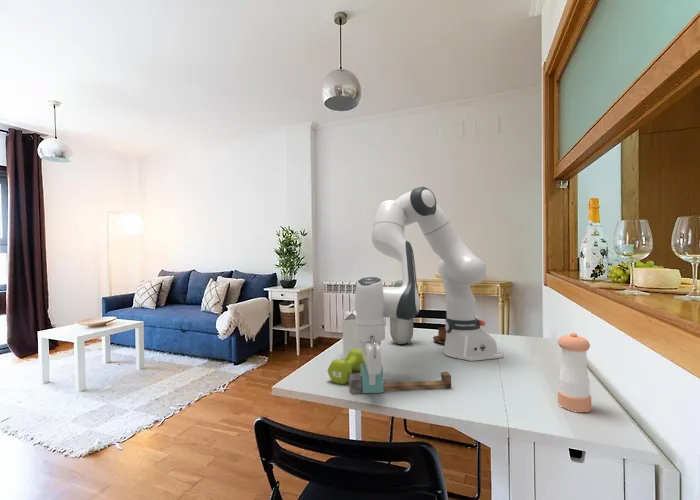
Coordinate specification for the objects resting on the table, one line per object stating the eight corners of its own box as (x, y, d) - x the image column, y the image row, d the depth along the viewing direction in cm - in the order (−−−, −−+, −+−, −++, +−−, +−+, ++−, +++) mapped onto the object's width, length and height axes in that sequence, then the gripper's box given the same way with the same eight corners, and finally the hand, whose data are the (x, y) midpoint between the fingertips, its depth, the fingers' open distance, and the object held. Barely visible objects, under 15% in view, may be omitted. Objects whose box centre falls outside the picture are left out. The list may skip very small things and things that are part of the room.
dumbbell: (349, 367, 124) (348, 346, 124) (369, 370, 120) (369, 349, 120) (325, 383, 109) (325, 360, 109) (348, 387, 105) (347, 363, 105)
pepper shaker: (558, 409, 89) (557, 334, 89) (558, 398, 95) (557, 328, 96) (592, 415, 85) (591, 337, 86) (590, 404, 92) (589, 331, 92)
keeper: (380, 385, 106) (380, 362, 106) (383, 392, 100) (383, 368, 100) (360, 385, 105) (360, 363, 105) (362, 393, 100) (362, 369, 100)
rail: (446, 383, 107) (446, 370, 107) (452, 390, 102) (452, 376, 102) (349, 387, 105) (349, 374, 105) (350, 394, 100) (350, 380, 100)
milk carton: (363, 354, 138) (362, 306, 138) (361, 360, 131) (361, 309, 131) (345, 354, 138) (344, 306, 139) (343, 360, 131) (342, 309, 131)
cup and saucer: (427, 341, 159) (427, 327, 159) (448, 338, 163) (448, 325, 163) (444, 347, 147) (444, 333, 148) (466, 344, 152) (466, 330, 152)
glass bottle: (393, 339, 161) (392, 279, 161) (415, 341, 157) (414, 279, 157) (387, 345, 152) (386, 280, 152) (410, 347, 148) (409, 281, 148)
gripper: (386, 341, 93) (387, 393, 93) (375, 325, 113) (376, 367, 113) (363, 342, 92) (363, 394, 92) (356, 325, 113) (356, 368, 113)
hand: (370, 379), depth 103 cm, fingers closed on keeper, 5 cm apart
